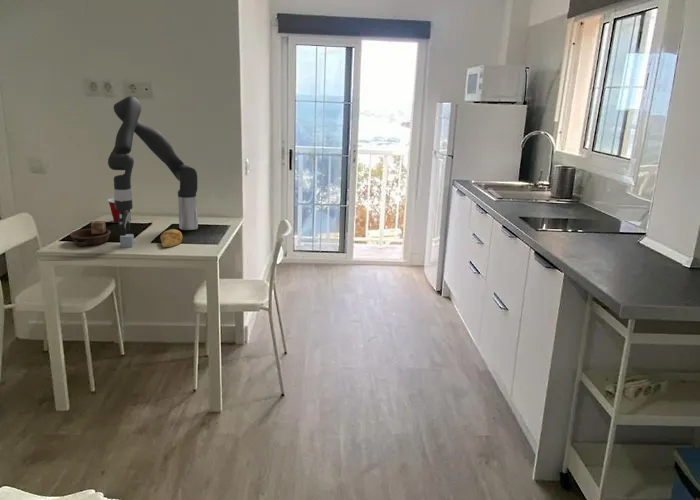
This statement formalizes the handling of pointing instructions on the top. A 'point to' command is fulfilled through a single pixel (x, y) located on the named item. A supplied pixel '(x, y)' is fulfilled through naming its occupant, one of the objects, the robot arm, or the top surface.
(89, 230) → the dish
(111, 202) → the plastic cup
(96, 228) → the walnut block
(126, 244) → the grey block
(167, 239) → the croissant
